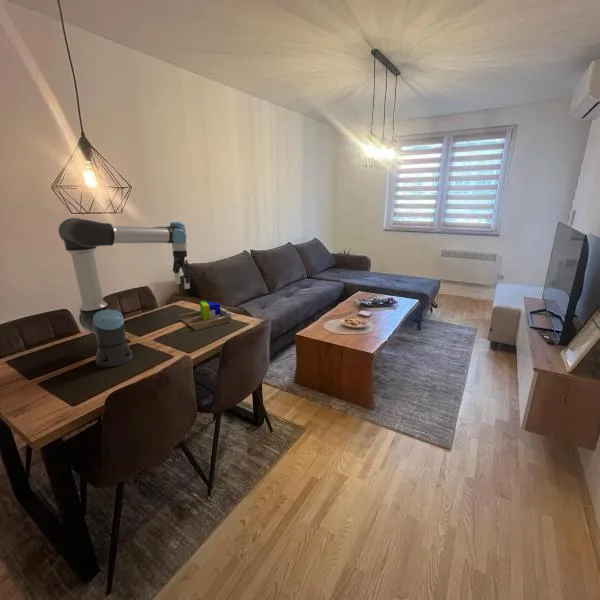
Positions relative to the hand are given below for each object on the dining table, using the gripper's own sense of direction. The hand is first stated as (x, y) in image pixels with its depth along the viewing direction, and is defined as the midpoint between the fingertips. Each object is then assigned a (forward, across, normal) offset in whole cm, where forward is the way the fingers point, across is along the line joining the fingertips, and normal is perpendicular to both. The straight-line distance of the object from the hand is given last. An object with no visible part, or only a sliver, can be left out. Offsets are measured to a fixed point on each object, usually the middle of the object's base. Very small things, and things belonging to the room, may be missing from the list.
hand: (182, 286), depth 192 cm
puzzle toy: (+24, 0, -17) cm, 29 cm away
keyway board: (+25, 0, -13) cm, 28 cm away
